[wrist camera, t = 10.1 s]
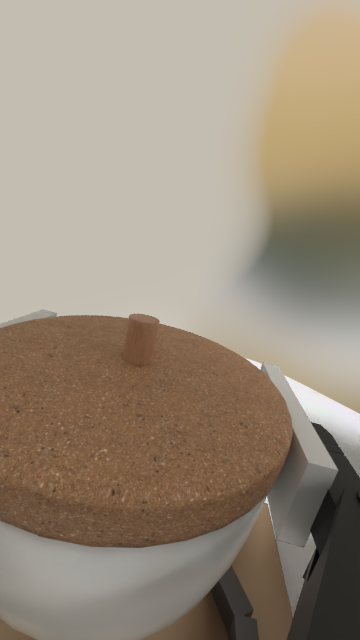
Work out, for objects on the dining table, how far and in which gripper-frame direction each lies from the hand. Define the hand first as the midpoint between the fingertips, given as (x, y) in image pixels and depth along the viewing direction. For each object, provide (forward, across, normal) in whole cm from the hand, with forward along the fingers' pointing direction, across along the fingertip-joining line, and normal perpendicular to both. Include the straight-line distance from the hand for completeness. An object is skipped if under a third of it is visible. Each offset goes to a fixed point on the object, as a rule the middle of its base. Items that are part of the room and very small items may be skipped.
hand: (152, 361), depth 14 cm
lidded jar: (-4, 0, -6) cm, 7 cm away
